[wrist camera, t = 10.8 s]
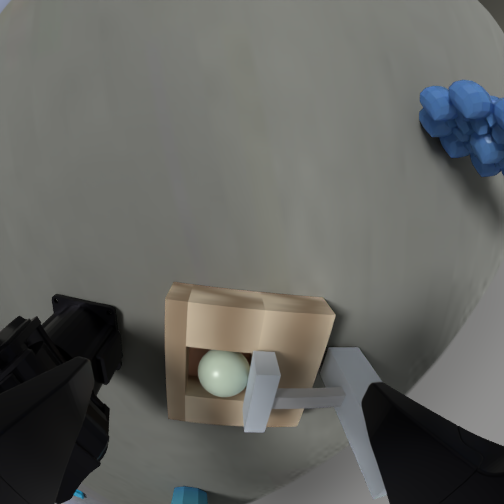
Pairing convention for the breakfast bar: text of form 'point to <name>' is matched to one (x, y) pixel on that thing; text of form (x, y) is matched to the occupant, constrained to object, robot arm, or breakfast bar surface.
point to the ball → (223, 372)
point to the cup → (189, 496)
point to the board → (239, 346)
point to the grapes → (466, 123)
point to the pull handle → (319, 400)
